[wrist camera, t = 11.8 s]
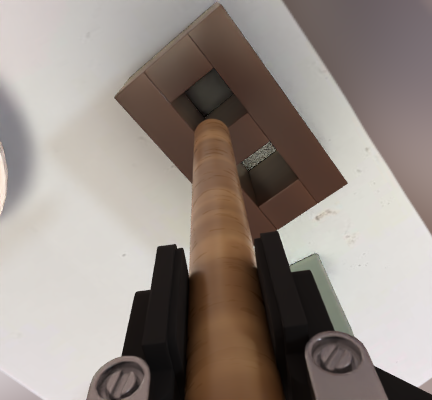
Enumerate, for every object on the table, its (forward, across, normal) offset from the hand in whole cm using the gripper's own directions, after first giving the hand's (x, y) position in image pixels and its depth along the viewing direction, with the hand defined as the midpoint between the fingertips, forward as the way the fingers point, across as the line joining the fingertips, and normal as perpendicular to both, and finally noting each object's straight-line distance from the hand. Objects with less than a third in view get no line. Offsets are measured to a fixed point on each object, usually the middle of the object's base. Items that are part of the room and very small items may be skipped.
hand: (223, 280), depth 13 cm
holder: (+29, -2, +3) cm, 29 cm away
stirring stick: (+15, 0, 0) cm, 15 cm away
